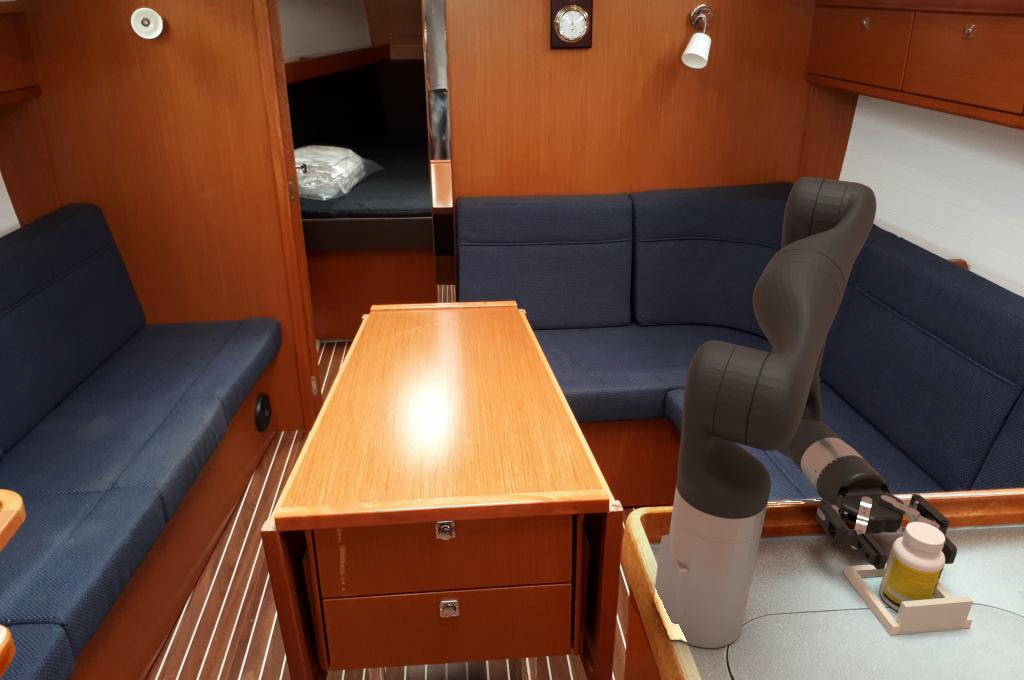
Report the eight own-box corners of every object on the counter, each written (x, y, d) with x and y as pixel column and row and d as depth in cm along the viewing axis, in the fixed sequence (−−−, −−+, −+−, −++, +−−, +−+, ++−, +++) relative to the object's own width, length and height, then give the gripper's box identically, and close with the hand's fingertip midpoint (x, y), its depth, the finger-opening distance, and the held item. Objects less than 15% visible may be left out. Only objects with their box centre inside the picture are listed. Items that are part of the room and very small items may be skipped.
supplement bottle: (935, 620, 84) (959, 552, 80) (884, 612, 85) (905, 544, 81) (921, 587, 89) (943, 521, 85) (873, 579, 90) (892, 514, 85)
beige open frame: (890, 635, 82) (899, 607, 80) (844, 574, 90) (851, 548, 89) (969, 627, 83) (979, 600, 81) (916, 568, 92) (924, 542, 90)
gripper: (796, 456, 96) (867, 538, 81) (897, 451, 98) (984, 530, 83) (786, 504, 99) (852, 591, 84) (884, 497, 101) (966, 581, 86)
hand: (918, 560), depth 84 cm, fingers open, 8 cm apart
